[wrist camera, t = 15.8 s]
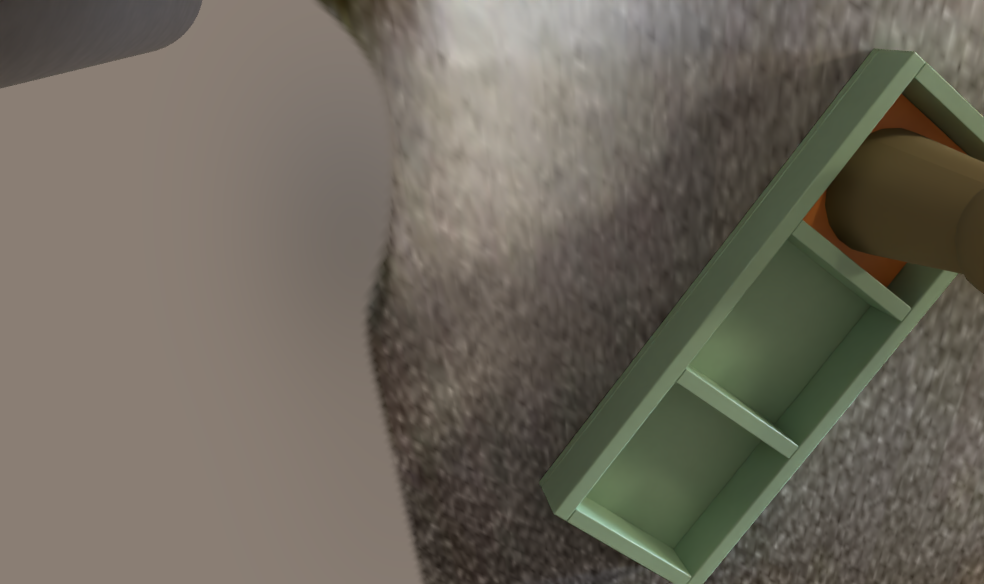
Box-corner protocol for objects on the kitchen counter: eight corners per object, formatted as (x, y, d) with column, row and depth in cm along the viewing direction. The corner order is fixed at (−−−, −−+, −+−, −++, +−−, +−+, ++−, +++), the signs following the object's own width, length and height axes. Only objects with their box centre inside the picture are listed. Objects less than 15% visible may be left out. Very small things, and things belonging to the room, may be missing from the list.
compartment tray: (538, 482, 44) (553, 514, 41) (873, 47, 40) (914, 50, 38) (671, 561, 47) (694, 596, 44) (995, 162, 43) (1042, 172, 41)
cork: (942, 239, 43) (1138, 310, 33) (827, 266, 43) (990, 347, 32) (942, 115, 41) (1149, 150, 31) (821, 141, 41) (993, 185, 30)
